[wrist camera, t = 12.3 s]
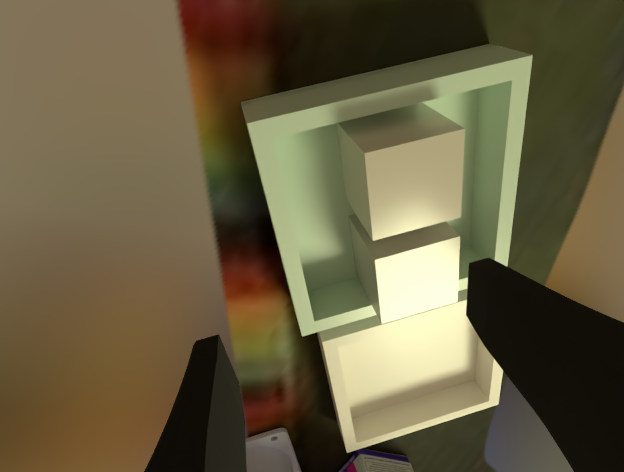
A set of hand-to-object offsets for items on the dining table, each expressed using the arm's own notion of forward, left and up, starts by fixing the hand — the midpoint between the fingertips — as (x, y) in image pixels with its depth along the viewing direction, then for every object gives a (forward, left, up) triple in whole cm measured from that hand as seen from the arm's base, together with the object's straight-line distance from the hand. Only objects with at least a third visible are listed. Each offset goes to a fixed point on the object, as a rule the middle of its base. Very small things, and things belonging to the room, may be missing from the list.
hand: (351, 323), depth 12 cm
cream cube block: (+5, -5, -10) cm, 12 cm away
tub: (+4, -2, -10) cm, 12 cm away
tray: (+6, -15, -10) cm, 19 cm away
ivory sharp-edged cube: (+5, 0, -10) cm, 11 cm away
